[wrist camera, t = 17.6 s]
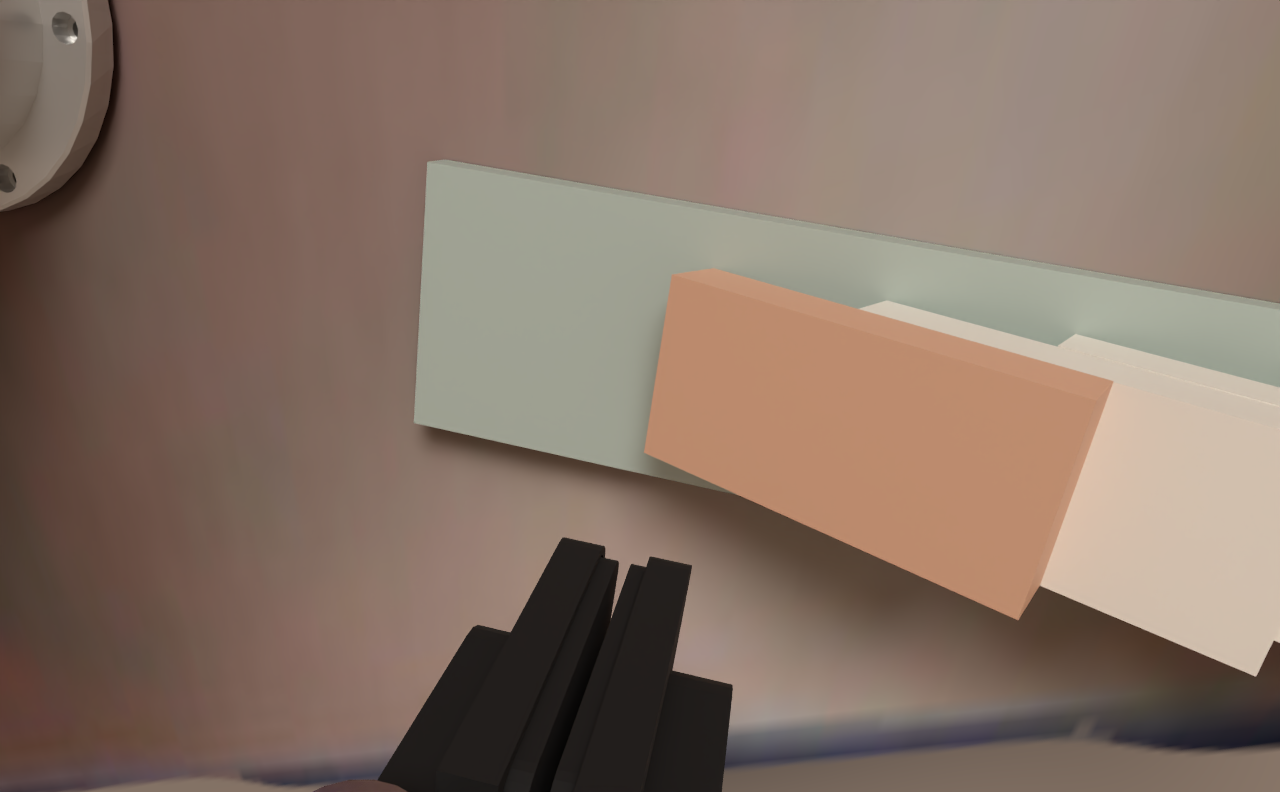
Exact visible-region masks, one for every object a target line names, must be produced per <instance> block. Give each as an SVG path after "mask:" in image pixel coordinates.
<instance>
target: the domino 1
mask: <svg viewBox="0 0 1280 792" xmlns="http://www.w3.org/2000/svg"><path fill="white" fill-rule="evenodd" d="M1113 382H1114V381H1111V380H1108V379H1104V378H1101V377H1097V376H1094V375H1090V374H1086V373H1083V372H1079V371H1076V370H1072V369H1069V368H1065V367H1062V366H1058V365H1055V364H1051V363H1048V362H1044V361H1040V360H1037V359H1033V358H1030V357H1026V356H1023V355H1019V354H1016V353H1012V352H1009V351H1005V350H1002V349H998V348H995V347H991V346H987V345H984V344H980V343H977V342H973V341H970V340H966V339H963V338H959V337H956V336H952V335H949V334H945V333H941V332H938V331H934V330H931V329H927V328H924V327H920V326H917V325H913V324H910V323H906V322H903V321H899V320H896V319H892V318H888V317H885V316H881V315H878V314H874V313H871V312H867V311H864V310H860V309H857V308H853V307H850V306H846V305H843V304H839V303H835V302H832V301H828V300H825V299H821V298H818V297H814V296H811V295H807V294H804V293H800V292H797V291H793V290H789V289H786V288H782V287H779V286H775V285H772V284H768V283H765V282H761V281H758V280H754V279H751V278H747V277H744V276H740V275H736V274H733V273H729V272H726V271H722V270H719V269H715V268H711V269H705V270H698V271H691V272H685V273H678V274H672V276H671V283H670V289H669V296H668V302H667V308H666V315H665V321H664V327H663V334H662V340H661V347H660V353H659V359H658V366H657V372H656V379H655V385H654V391H653V398H652V404H651V410H650V417H649V423H648V430H647V436H646V442H645V449H644V453H646V454H648V455H650V456H652V457H655V458H657V459H659V460H661V461H664V462H666V463H668V464H670V465H673V466H675V467H677V468H679V469H681V470H684V471H686V472H688V473H690V474H693V475H695V476H697V477H699V478H702V479H704V480H706V481H708V482H710V483H713V484H715V485H717V486H719V487H722V488H724V489H726V490H728V491H731V492H733V493H735V494H737V495H739V496H742V497H744V498H746V499H748V500H751V501H753V502H755V503H757V504H760V505H762V506H764V507H766V508H768V509H771V510H773V511H775V512H777V513H780V514H782V515H784V516H786V517H789V518H791V519H793V520H795V521H797V522H800V523H802V524H804V525H806V526H809V527H811V528H813V529H815V530H818V531H820V532H822V533H824V534H827V535H829V536H831V537H833V538H835V539H838V540H840V541H842V542H844V543H847V544H849V545H851V546H853V547H856V548H858V549H860V550H862V551H864V552H867V553H869V554H871V555H873V556H876V557H878V558H880V559H882V560H885V561H887V562H889V563H891V564H893V565H896V566H898V567H900V568H902V569H905V570H907V571H909V572H911V573H914V574H916V575H918V576H920V577H922V578H925V579H927V580H929V581H931V582H934V583H936V584H938V585H940V586H943V587H945V588H947V589H949V590H951V591H954V592H956V593H958V594H960V595H963V596H965V597H967V598H969V599H972V600H974V601H976V602H978V603H980V604H983V605H985V606H987V607H989V608H992V609H994V610H996V611H998V612H1001V613H1003V614H1005V615H1007V616H1009V617H1012V618H1014V619H1016V620H1019V618H1020V617H1021V615H1022V613H1023V612H1024V610H1025V609H1026V607H1027V605H1028V604H1029V602H1030V601H1031V599H1032V597H1033V596H1034V594H1035V592H1036V591H1037V589H1038V588H1039V586H1040V584H1041V581H1042V578H1043V576H1044V573H1045V570H1046V567H1047V565H1048V562H1049V559H1050V556H1051V554H1052V551H1053V548H1054V545H1055V542H1056V540H1057V537H1058V534H1059V531H1060V529H1061V526H1062V523H1063V520H1064V518H1065V515H1066V512H1067V509H1068V506H1069V504H1070V501H1071V498H1072V495H1073V493H1074V490H1075V487H1076V484H1077V482H1078V479H1079V476H1080V473H1081V470H1082V468H1083V465H1084V462H1085V459H1086V457H1087V454H1088V451H1089V448H1090V446H1091V443H1092V440H1093V437H1094V434H1095V432H1096V429H1097V426H1098V423H1099V421H1100V418H1101V415H1102V412H1103V410H1104V407H1105V404H1106V401H1107V398H1108V396H1109V393H1110V390H1111V387H1112V385H1113Z"/></svg>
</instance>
